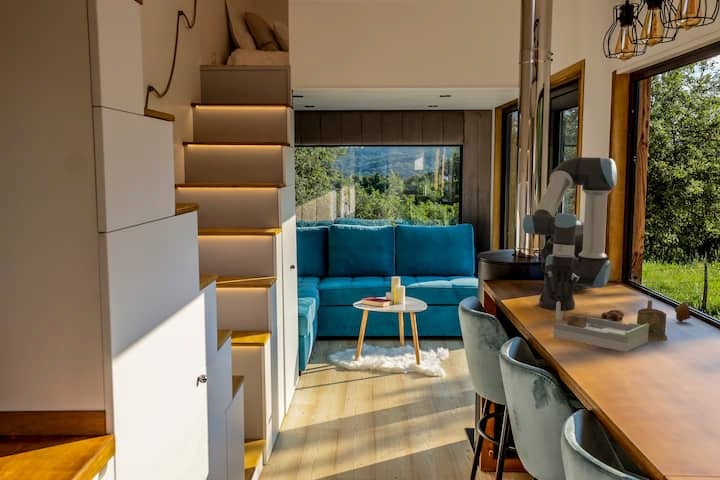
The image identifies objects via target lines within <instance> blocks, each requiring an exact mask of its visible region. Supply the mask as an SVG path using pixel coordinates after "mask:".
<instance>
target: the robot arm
mask: <svg viewBox="0 0 720 480" xmlns="http://www.w3.org/2000/svg"><path fill="white" fill-rule="evenodd" d="M617 181H618V171H617V165H616V162H615V161H614V159H612V158H609V157H608V158H607V157H602V156H601V157H585V156H584V157H581V156H575V157H570V158H568V159H566V160H564V161H563V162H561V163H560V164H558V165H557V166H556V167H555V168H554V169H553V170H552V172H551V174H550V176H549V183H548V185H547V187H546V189H545V191H544V193H543V195H542V197H541V199H540V200H539V203H538V205H537V207H536V209H535V211H534V213H533V214H525V216H524V217H523V222H522V230H523V232H524V233H525V234H529V235H533V236H535V235H536V236H550V237H552V236H554V244H553V254H552V255H549V256H547V258H546V264H545V274H544V282H543V289H542V291H541V294H540V296H539V299H538V306H539V307H541V308H544V309H549V310H555V320H558V321H559V320H560V321H561V320H563V319H564V318H563V314H564V311H571V310H574V309H575V308H576V302H575V298H574V293H575V290H574V289H575V286H576V285H581V286H587V287H591V288H598V289H599V288H604V287H605V286H606V285H607V284H608V281H609V279H610V275H611V272H612V271H611V270H612V262H611V260H608V254H606V253H605V237H606V224H607V209H608V196H609V194H610V193H612V191H613V190H612V189H613V188H615V187H616V186H617ZM572 186H582V187H581V190H582V191H583V193H585V203H584V218H583V219H584V220H582V219H581V218H580V217H577V214H575V213H569V212H568V213H566V212H565V213H564V212H563V213H561V212H559V213H557V211H558V209H559V207H560V206H561V204H562V201H563V199H564V197H565V196H566V193H567V192H568V190H570V189H571V187H572ZM582 233H583V249H582V252H580V253H579V254H578V258H575V256H574V248H575V238H576V237H578V236H580V235H581V234H582Z"/></svg>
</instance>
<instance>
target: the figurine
mask: <svg viewBox="0 0 720 480" xmlns="http://www.w3.org/2000/svg"><path fill="white" fill-rule="evenodd" d="M600 316H601V319H602V318H603V319H607V320H609V321H613V322H619V321H621V320H623V319H624V316H625V314H624V313H623V312H622V311H621V309H619V310H618V309H611V310H609V311H607V312H606V311H605V312H602V313H601V315H600ZM619 323H620V322H619Z"/></svg>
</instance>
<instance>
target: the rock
mask: <svg viewBox="0 0 720 480" xmlns="http://www.w3.org/2000/svg"><path fill="white" fill-rule="evenodd" d="M687 303H688V304H687ZM687 303H685V302H682V303H680V304H679V305H678V306H677V307H674V310H675V311H674V312H675V316H676V317H675V318H676V320H677V321H678V322H680V323H682V322H683V321H686V320H689V319H691V310H690V308H689V306H690V307H692V308H693V307H694V305H693V301H687Z"/></svg>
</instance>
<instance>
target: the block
mask: <svg viewBox="0 0 720 480" xmlns="http://www.w3.org/2000/svg"><path fill="white" fill-rule="evenodd" d="M587 317H588V316H587V315H585V314H584V315H583V314H579V313H572V314H568V315H567V323H566V324H567V325H569V326H574V327H579V328H584V327H586V323H587Z"/></svg>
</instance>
